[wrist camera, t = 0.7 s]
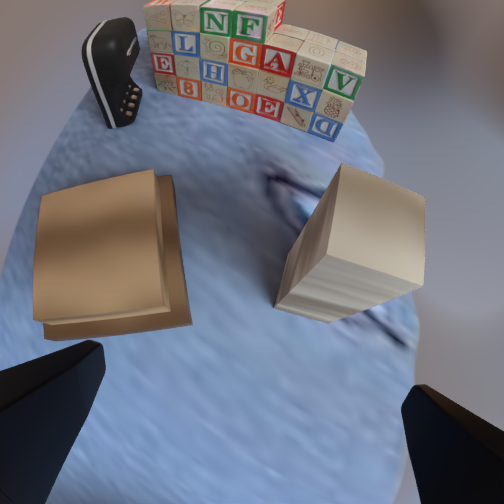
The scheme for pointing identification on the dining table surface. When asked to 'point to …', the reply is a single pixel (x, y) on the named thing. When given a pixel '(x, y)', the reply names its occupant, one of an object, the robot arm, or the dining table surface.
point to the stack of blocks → (254, 62)
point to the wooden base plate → (175, 283)
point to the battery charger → (113, 69)
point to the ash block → (355, 249)
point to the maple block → (100, 252)
